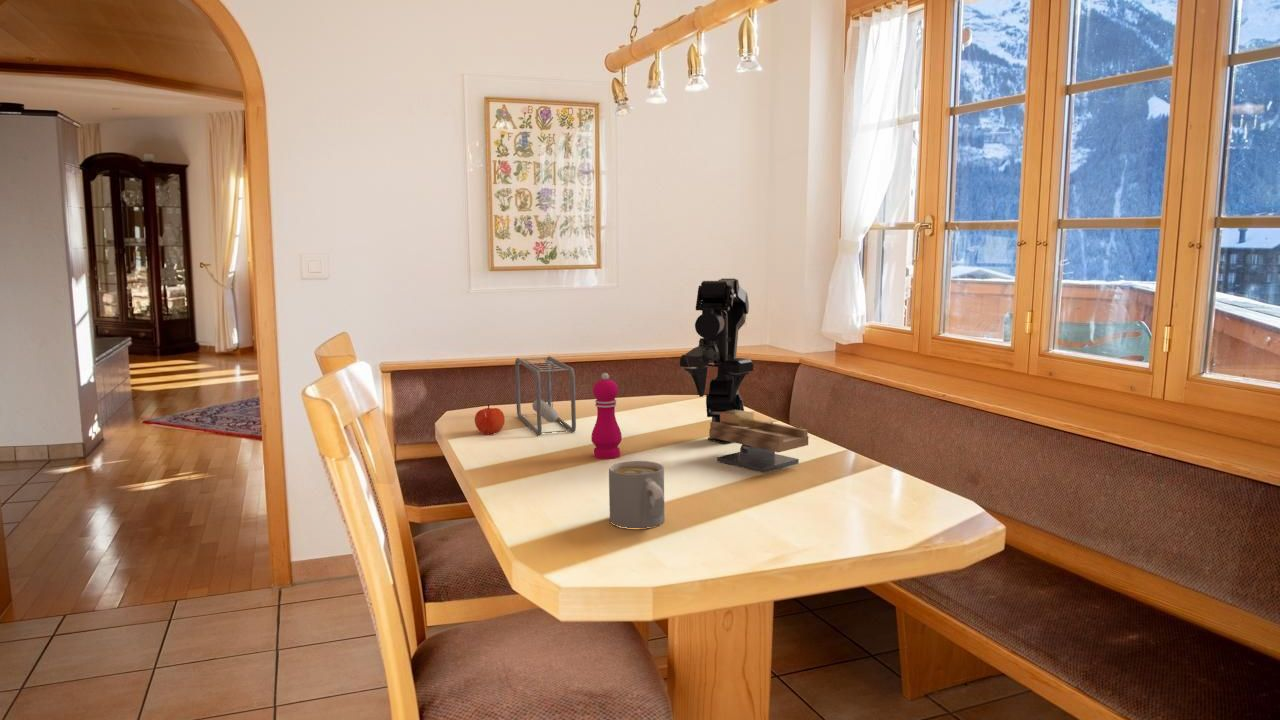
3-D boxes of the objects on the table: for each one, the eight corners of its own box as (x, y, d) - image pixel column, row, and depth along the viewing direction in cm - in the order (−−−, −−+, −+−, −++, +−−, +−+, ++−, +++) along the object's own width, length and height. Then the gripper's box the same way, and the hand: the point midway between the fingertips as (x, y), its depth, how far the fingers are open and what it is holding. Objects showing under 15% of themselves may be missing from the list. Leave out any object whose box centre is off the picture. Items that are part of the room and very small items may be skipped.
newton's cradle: (576, 434, 232) (574, 368, 229) (538, 437, 228) (535, 370, 226) (551, 414, 260) (549, 355, 257) (516, 416, 256) (514, 357, 254)
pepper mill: (586, 457, 205) (584, 374, 202) (601, 451, 211) (599, 370, 209) (612, 460, 202) (610, 375, 199) (627, 454, 208) (625, 371, 205)
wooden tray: (709, 437, 202) (709, 421, 202) (738, 430, 208) (738, 415, 208) (778, 452, 186) (778, 435, 186) (808, 445, 193) (808, 428, 192)
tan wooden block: (720, 426, 203) (719, 412, 202) (734, 423, 206) (734, 409, 205) (738, 430, 198) (738, 415, 198) (753, 427, 201) (753, 412, 201)
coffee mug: (603, 516, 161) (602, 463, 159) (653, 510, 164) (653, 458, 162) (625, 538, 148) (624, 481, 147) (679, 531, 151) (678, 476, 150)
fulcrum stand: (717, 461, 199) (717, 440, 199) (752, 452, 207) (752, 432, 206) (763, 472, 189) (763, 450, 188) (798, 463, 196) (798, 441, 196)
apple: (500, 436, 229) (498, 407, 228) (470, 436, 230) (469, 406, 229) (509, 430, 237) (508, 401, 236) (481, 430, 238) (479, 401, 237)
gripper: (663, 334, 206) (664, 398, 208) (723, 339, 193) (723, 408, 195) (695, 330, 214) (695, 392, 216) (754, 335, 200) (754, 401, 202)
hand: (715, 398), depth 207 cm, fingers open, 9 cm apart
